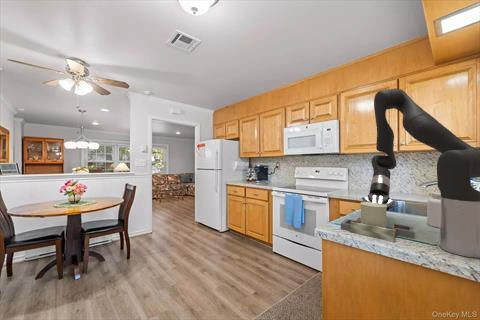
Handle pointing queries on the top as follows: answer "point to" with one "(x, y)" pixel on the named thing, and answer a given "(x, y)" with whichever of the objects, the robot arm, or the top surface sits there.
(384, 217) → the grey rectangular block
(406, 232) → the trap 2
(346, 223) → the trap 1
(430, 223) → the pill bottle
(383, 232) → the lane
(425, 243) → the top surface
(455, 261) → the top surface
